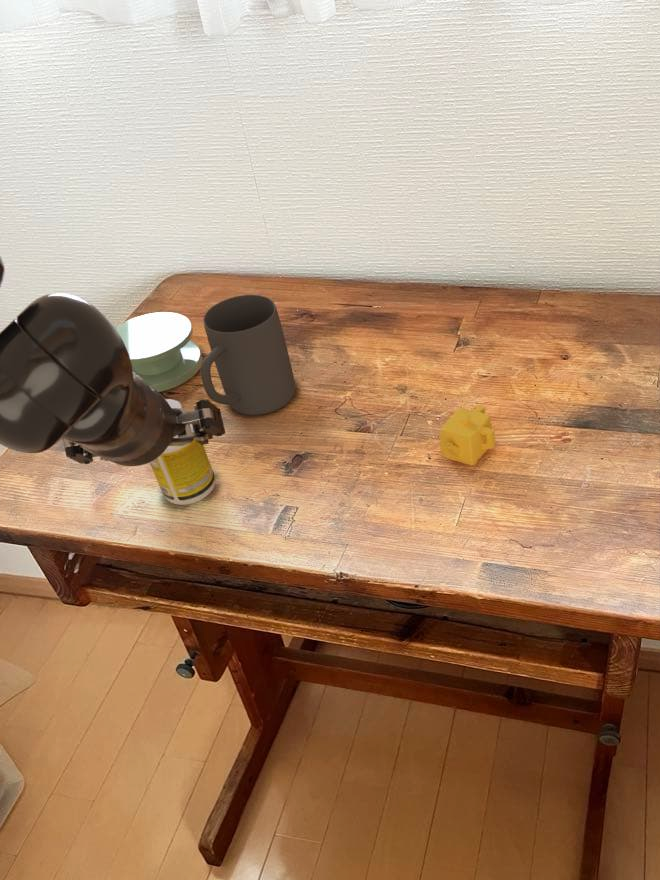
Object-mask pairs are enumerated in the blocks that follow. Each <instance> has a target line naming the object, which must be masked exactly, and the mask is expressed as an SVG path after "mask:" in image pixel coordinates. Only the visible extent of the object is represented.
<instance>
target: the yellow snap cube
mask: <svg viewBox="0 0 660 880" xmlns="http://www.w3.org/2000/svg"><path fill="white" fill-rule="evenodd" d="M495 432H496V431H495V429H493V426H492V421H491V415H490V414H487V413H486V408H485V406H482V405H477V406H476V407H475V408H474V409H468V408H465V407H459V408H458V409H457V410H456V411H455V412H453V414H451V416H450V417H449V418H448V419H447V420H446V421H445V423H444V424H443V425H442V427H441V428H440V435H439V439H440V440H439V441H440V443H439V445H440V446H439V447H440V453H441V456H442V457H443V458H446V459H448V460H451V461H455V462H458V463H462V464H465V465H468V466H475V465H477V462H478V461H479V460H480V459H481V457H482V456H484V454H485V453H486V452H487V451H488V450H491V449H493V448H494V447H495V446H496V444H497V443H496V433H495Z"/></svg>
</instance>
